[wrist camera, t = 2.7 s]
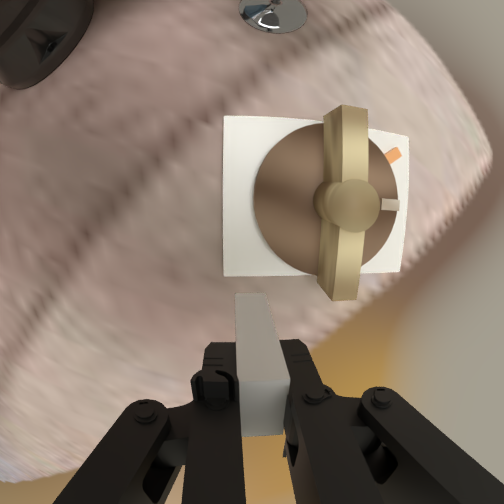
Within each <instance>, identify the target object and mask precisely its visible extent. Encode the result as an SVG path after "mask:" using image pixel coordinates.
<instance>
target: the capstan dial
mask: <svg viewBox="0 0 504 504" xmlns="http://www.w3.org/2000/svg"><path fill="white" fill-rule="evenodd" d="M323 118H324V123H317V124H312V125H307V126H304V127H302V128H299V129H297V130H295V131H293V132H291V133H290V134H288V135H287V136H285V137H284V138H283V139H281V140H280V141H279V142H278V143H277V144H276V145H275V146H274V147H273V148H272V149H271V150H270V151H269V152H268V154H267V155H266V157H265V158H264V160H263V162H262V164H261V165H260V167H259V170H258V173H257V176H256V179H255V184H254V192H253V205H254V212H255V217H256V220H257V223H258V227H259V229H260V231H261V233H262V235H263V237H264V239H265V240H266V242H267V243H268V245H269V246H270V248H271V249H272V250H273V251H274V252H275V254H276V255H277V256H278V257H279V258H281V259H282V260H283V261H284V262H285V263H287V264H288V265H290V266H291V267H293V268H295V269H297V270H299V271H301V272H304V273H307V274H311V275H317V283H318V284H319V285H320V287H321V288H322V289H323V290H324V292H325V293H326V294H327V295H328V297H329V298H330V299H331V300H332V301H344V300H356V298H357V292H358V285H359V279H360V271H361V266H363V265H364V264H366V263H367V262H368V261H370V260H371V259H372V258H373V257H374V256H375V255H376V254H377V253H378V252H379V251H380V250H381V248H382V247H383V246H384V244H385V243H386V241H387V239H388V237H389V235H390V233H391V231H392V229H393V226H394V223H395V219H396V215H397V211H399V207H400V200H398V192H397V185H396V180H395V176H394V173H393V171H392V168H391V166H390V164H389V162H388V160H387V158H386V157H385V155H384V154H383V152H382V151H381V150H380V149H379V147H378V146H377V145H376V144H375V143H374V142H373V141H372V140H371V139H369V138H368V111H367V109H363V108H358V107H353V106H347V105H340V106H339V107H337V108H336V109H334V110H332V111H331V112H329V113H328V114H326V115H325V116H323Z"/></svg>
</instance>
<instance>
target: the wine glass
mask: <svg viewBox="0 0 504 504" xmlns="http://www.w3.org/2000/svg"><path fill="white" fill-rule="evenodd" d="M239 12H240V15H241V17H242V18H243V19H244V20H245V22H247V23H248V24H249V25H250V26H252V27H254V28H256V29H259V30H261V31H265V32H269V33H288V32H292V31H295V30H297V29H299V28H300V27H302V26H303V25H304V23H305V22H306V20H307V9H306V7H305V5H304V4H303V2H302V1H301V0H241V2H240V4H239Z"/></svg>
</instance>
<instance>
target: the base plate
mask: <svg viewBox="0 0 504 504" xmlns="http://www.w3.org/2000/svg"><path fill="white" fill-rule="evenodd" d="M317 123H324V121H316V120H306V119H295V118H282V117H264V116H224V138H223V268H224V276H296V275H311V274H307V273H304V272H301V271H299V270H297V269H295V268H293V267H291V266H290V265H288V264H287V263H285V262H284V261H283V260H282V259H281V258H279V257H278V256H277V255H276V254H275V252H274V251H273V250H272V249H271V248H270V246H269V245H268V243H267V242H266V240H265V239H264V237H263V235H262V233H261V231H260V229H259V227H258V223H257V220H256V217H255V212H254V205H253V192H254V184H255V179H256V176H257V173H258V170H259V167H260V165H261V164H262V162H263V160H264V158H265V157H266V155H267V154H268V152H269V151H270V150H271V149H272V148H273V147H274V146H275V145H276V144H277V143H278V142H279V141H280V140H281V139H283V138H284V137H285V136H287V135H288V134H290V133H291V132H293V131H295V130H297V129H299V128H302V127H304V126H307V125H312V124H317ZM368 138H369V139H371V140H372V141H373V142H374V143H375V144H376V145H377V146H378V147H379V149H380V150H381V151H382V152H383V154H384V155H385V157H386V158H387V160H388V162H389V164H390V166H391V168H392V171H393V173H394V176H395V180H396V185H397V192H398V200H400V207H399V211H397V215H396V219H395V223H394V226H393V229H392V231H391V233H390V235H389V237H388V239H387V241H386V243H385V244H384V246H383V247H382V248H381V250H380V251H379V252H378V253H377V254H376V255H375V256H374V257H373V258H372V259H371V260H370V261H368V262H367V263H366V264H364V265H363V266H361V271H360V274H361V273H385V272H400V265H401V259H402V252H403V244H404V236H405V227H406V216H407V203H408V185H409V137H407V136H403V135H398V134H394V133H390V132H385V131H380V130H375V129H370V128H368Z"/></svg>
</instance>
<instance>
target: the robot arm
mask: <svg viewBox="0 0 504 504" xmlns="http://www.w3.org/2000/svg"><path fill="white" fill-rule="evenodd" d="M92 14H93V0H0V83H1V84H2V85H4V86H7V87H11V88H14V89H24V88H27V87H30V86H32V85H34V84H36V83H37V82H39V81H41V80H42V79H43V78H45V77H46V76H47V75H49V74H50V73H51V72H52V71H53V70H54V69H55V68H56V67H57V66H58V65H59V64H60V63H61V62H62V61H63V60H64V59H65V58H66V57H67V56H68V55H69V53H70V52H71V51H72V50H73V49H74V47H75V46H76V45H77V43H78V42H79V40H80V39H81V37H82V36H83V34H84V32H85V31H86V29H87V27H88V25H89V22H90V20H91V17H92ZM235 334H236V342H211V343H210V344H209V345H208V346H207V347H206V349H205V352H204V359H203V366H202V370H200V371H198V372H197V373H196V374H194V375H193V377H192V379H191V387H192V394H193V401H191V402H190V403H188V404H186V405H183V406H179V407H174V408H166V407H165V406H164V405H163V404H162V403H160V402H158V401H156V400H150V399H144V400H138V401H136V402H133V403H131V404H130V405H129V406H128V407H127V408H126V409H125V410H124V411H123V413H122V414H121V415H120V416H119V418H118V419H117V420H116V422H115V423H114V424H113V426H112V427H111V428H110V429H109V431H108V432H107V433H106V435H105V436H104V437H103V438H102V440H101V441H100V442H99V444H98V445H97V446H96V448H95V449H94V450H93V451H92V453H91V454H90V455H89V457H88V458H87V459H86V461H85V462H84V463H83V464H82V466H81V467H80V468H79V470H78V471H77V472H76V474H75V475H74V477H72V479H71V480H70V481H69V483H68V484H67V485H66V487H65V488H64V489H63V491H62V492H61V493H60V495H59V496H58V497H57V498H56V500H55V501H54V503H53V504H164V503H165V501H166V499H167V497H168V495H169V493H170V491H171V489H172V486H173V484H174V482H175V480H176V478H177V476H178V474H179V472H180V469H181V467H182V465H185V474H184V483H183V494H182V503H181V504H246V497H245V482H244V468H243V452H242V437H249V436H268V435H280V434H283V429H285V434H286V440H285V446H284V451H283V457H286V455H287V460H288V465H289V470H290V475H291V480H292V484H293V490H294V494H295V499H296V504H504V484H503V483H501V482H500V481H499V480H498V479H497V478H495V477H494V476H493V475H492V474H491V473H489V472H488V471H487V470H486V469H485V468H483V467H482V466H481V465H480V464H479V463H478V462H476V461H475V460H474V459H473V458H472V457H471V456H469V455H468V454H467V453H466V452H464V450H462V449H461V448H460V447H459V446H458V445H456V444H455V443H454V442H453V441H452V440H450V439H449V438H448V437H447V436H446V435H445V434H444V433H442V432H441V431H440V430H439V429H438V428H437V427H436V426H434V425H433V424H432V423H431V422H430V421H429V420H427V419H426V418H425V417H424V416H423V415H422V414H421V413H419V412H418V411H417V410H416V409H415V408H414V407H413V406H411V405H410V404H409V403H408V402H407V401H406V400H405V399H403V398H402V397H401V396H400V395H399V394H398V393H397V392H395V391H393V390H392V389H389V388H386V387H373V388H369V389H368V390H366V391H365V392H364V393H363V395H362V397H361V398H353V397H342V396H338V395H336V394H335V392H334V391H333V390H332V389H331V388H330V387H328V386H326V385H324V384H323V383H322V381H321V378H320V376H319V374H318V371H317V369H316V367H315V365H314V362H313V361H312V357H311V355H310V353H309V351H308V348H307V346H306V345H305V344H304V343H303V342H301V341H300V340H299V339H292V340H279V338H278V335H277V331H276V328H275V324H274V321H273V317H272V314H271V311H270V307H269V304H268V300H267V297H266V293H235Z"/></svg>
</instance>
